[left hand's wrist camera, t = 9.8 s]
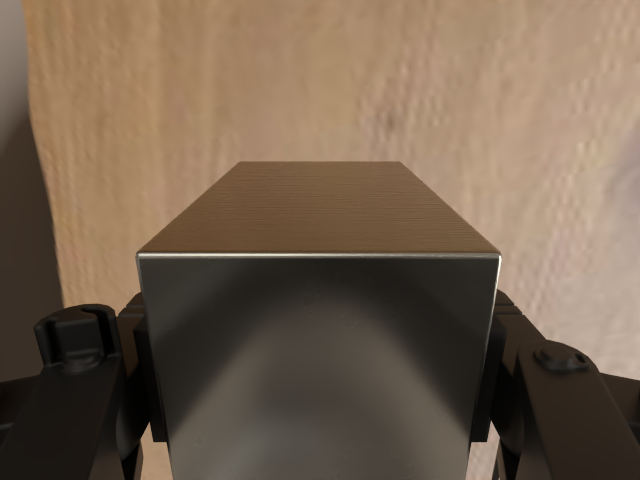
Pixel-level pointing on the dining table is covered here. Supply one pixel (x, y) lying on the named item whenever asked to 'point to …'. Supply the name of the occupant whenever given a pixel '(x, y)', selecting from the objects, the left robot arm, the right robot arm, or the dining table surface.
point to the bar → (318, 326)
